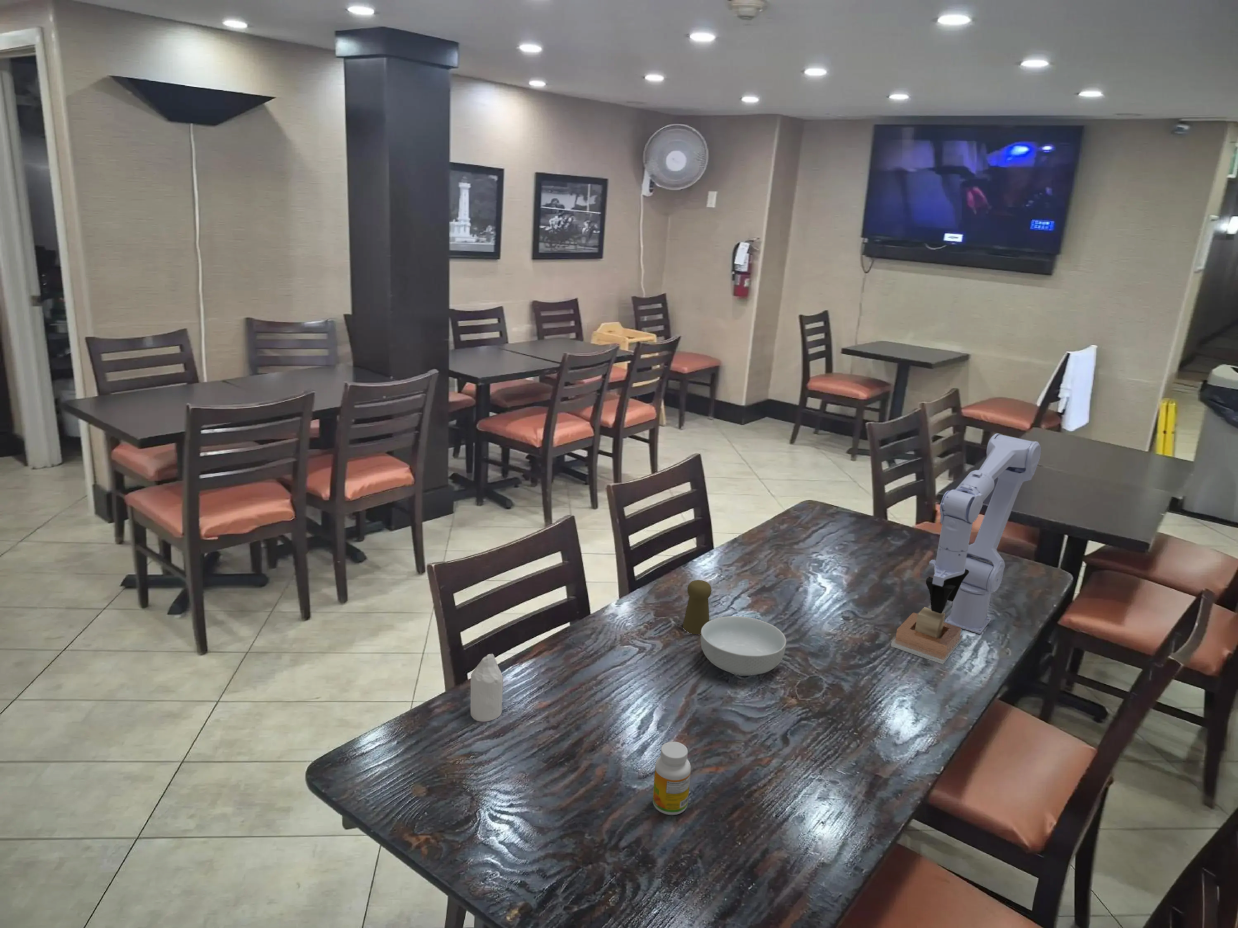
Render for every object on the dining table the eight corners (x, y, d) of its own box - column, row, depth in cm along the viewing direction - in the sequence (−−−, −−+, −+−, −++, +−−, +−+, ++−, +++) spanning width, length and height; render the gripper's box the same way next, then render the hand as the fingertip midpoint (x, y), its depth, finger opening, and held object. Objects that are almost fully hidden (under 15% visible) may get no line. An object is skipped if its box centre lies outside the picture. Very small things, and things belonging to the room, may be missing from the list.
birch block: (920, 631, 179) (924, 606, 177) (940, 638, 176) (945, 613, 175) (913, 638, 176) (917, 613, 174) (934, 645, 173) (939, 620, 171)
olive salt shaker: (708, 636, 174) (712, 590, 171) (680, 632, 175) (684, 586, 172) (711, 623, 180) (715, 578, 177) (684, 620, 181) (687, 575, 178)
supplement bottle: (650, 791, 126) (654, 738, 123) (684, 791, 126) (689, 737, 124) (654, 816, 121) (658, 761, 118) (690, 815, 121) (695, 760, 118)
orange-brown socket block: (912, 623, 185) (914, 609, 184) (962, 639, 178) (964, 625, 177) (890, 646, 174) (893, 631, 173) (942, 664, 168) (945, 649, 167)
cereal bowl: (791, 657, 167) (795, 627, 165) (770, 697, 153) (774, 664, 151) (713, 637, 174) (716, 607, 172) (686, 673, 160) (689, 641, 157)
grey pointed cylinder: (481, 641, 144) (509, 648, 142) (481, 699, 147) (508, 707, 146) (463, 656, 139) (492, 664, 137) (464, 717, 142) (492, 725, 140)
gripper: (944, 532, 177) (934, 588, 181) (922, 551, 166) (912, 610, 170) (978, 541, 173) (967, 598, 177) (957, 560, 162) (946, 622, 166)
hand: (942, 605), depth 173 cm, fingers open, 7 cm apart
